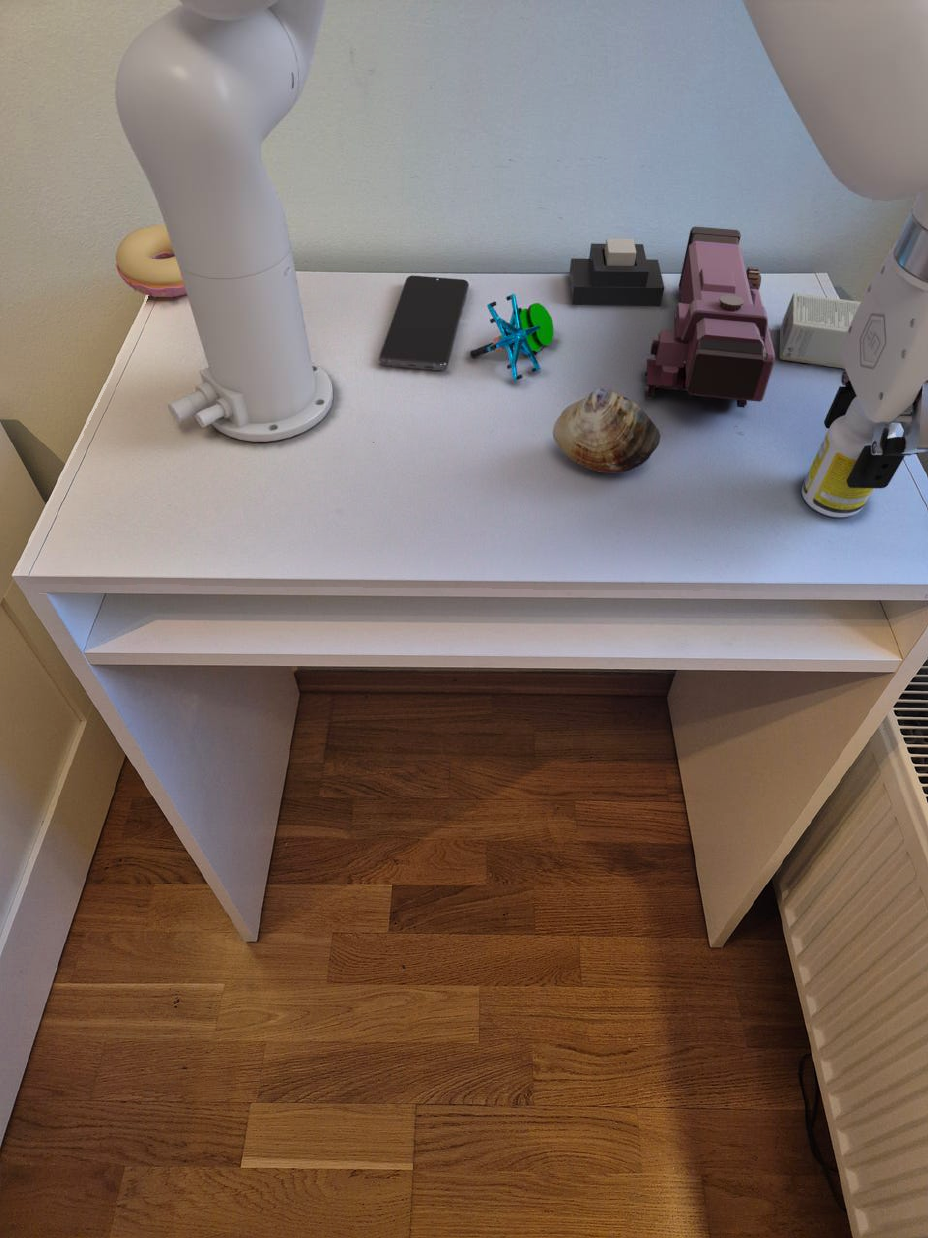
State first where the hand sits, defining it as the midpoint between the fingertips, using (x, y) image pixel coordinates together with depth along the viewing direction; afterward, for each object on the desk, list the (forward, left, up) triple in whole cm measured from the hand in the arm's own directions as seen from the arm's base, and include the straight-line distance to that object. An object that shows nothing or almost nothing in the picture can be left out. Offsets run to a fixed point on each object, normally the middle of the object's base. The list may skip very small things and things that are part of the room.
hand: (853, 453), depth 67 cm
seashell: (-12, +17, -5) cm, 21 cm away
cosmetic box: (+17, +17, -3) cm, 24 cm away
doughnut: (-24, +72, 0) cm, 76 cm away
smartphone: (-9, +45, -5) cm, 46 cm away
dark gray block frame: (+12, +35, -5) cm, 37 cm away
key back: (+12, +35, -1) cm, 37 cm away
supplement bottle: (0, 0, -5) cm, 5 cm away
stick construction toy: (-6, +35, -5) cm, 36 cm away
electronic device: (+8, +21, -5) cm, 23 cm away
